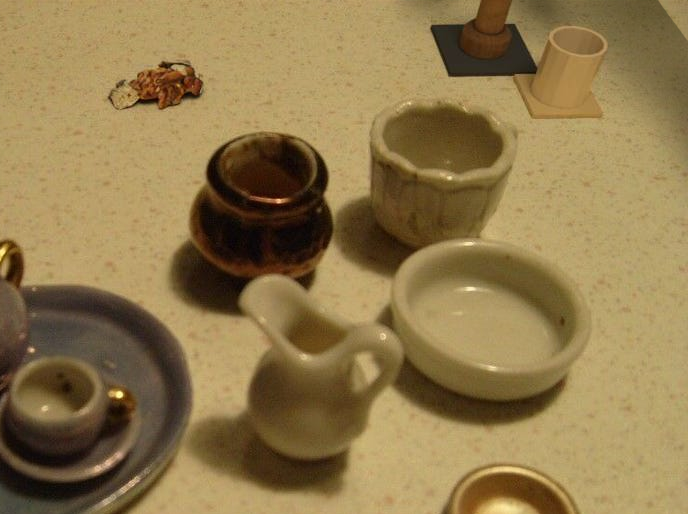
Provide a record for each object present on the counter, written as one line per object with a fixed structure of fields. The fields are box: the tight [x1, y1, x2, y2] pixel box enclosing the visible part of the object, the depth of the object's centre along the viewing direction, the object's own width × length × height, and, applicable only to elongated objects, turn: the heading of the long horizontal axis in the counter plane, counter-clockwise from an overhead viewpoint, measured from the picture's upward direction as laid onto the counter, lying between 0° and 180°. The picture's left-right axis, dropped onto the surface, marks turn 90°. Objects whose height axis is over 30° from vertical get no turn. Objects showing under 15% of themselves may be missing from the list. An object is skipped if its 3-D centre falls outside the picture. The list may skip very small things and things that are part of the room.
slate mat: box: [430, 23, 538, 77], centre depth 118 cm, size 12×12×1 cm
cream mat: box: [513, 74, 604, 119], centre depth 111 cm, size 9×9×1 cm
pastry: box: [107, 58, 205, 111], centre depth 109 cm, size 7×12×4 cm, turn 116°
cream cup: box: [531, 25, 609, 109], centre depth 108 cm, size 7×7×8 cm
